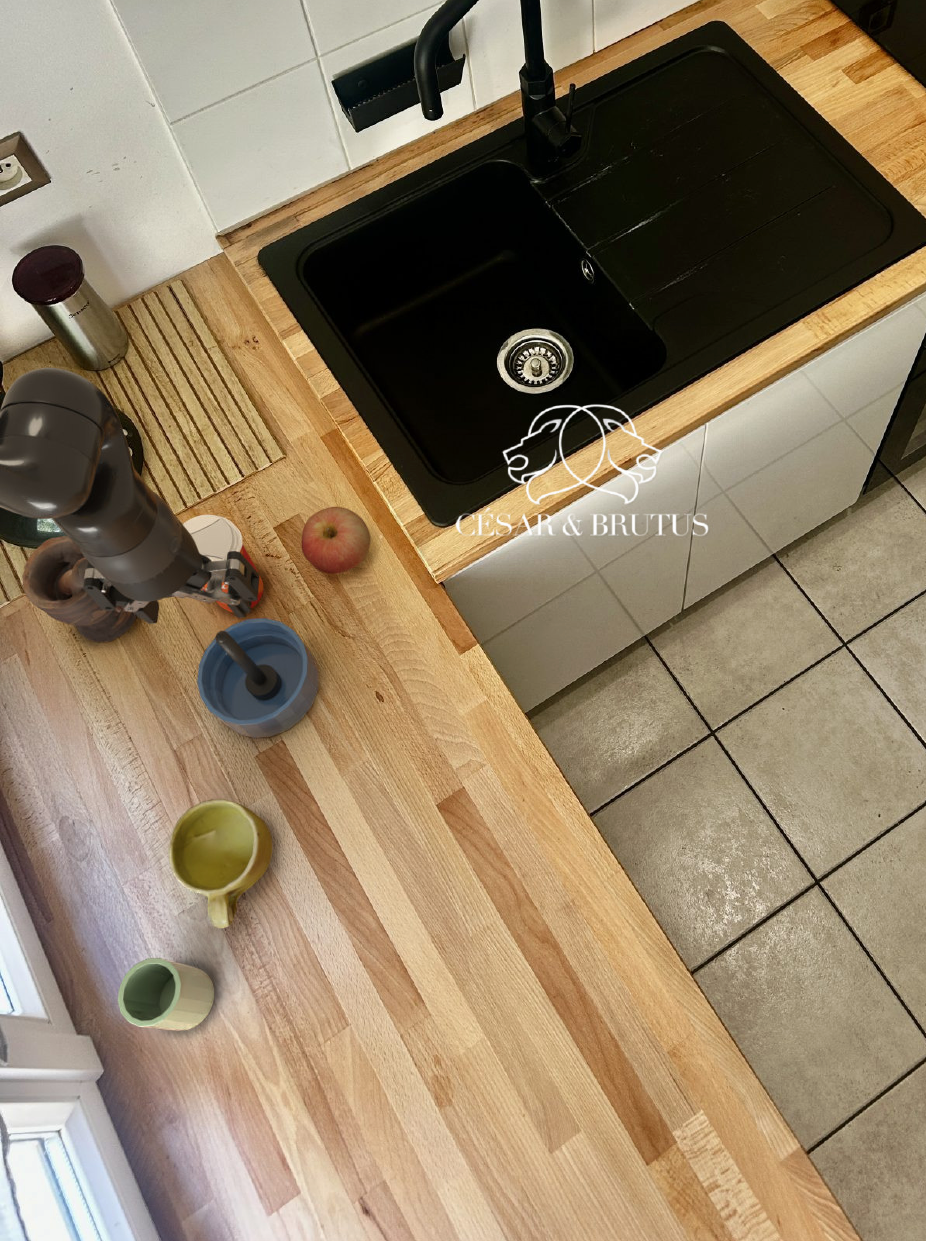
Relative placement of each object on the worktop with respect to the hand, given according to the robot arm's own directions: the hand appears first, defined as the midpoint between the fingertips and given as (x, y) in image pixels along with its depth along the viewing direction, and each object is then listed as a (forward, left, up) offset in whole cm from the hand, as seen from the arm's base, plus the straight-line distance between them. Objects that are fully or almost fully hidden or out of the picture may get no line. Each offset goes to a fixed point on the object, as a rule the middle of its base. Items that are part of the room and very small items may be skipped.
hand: (198, 611), depth 110 cm
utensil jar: (-6, -32, -24) cm, 40 cm away
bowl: (0, 0, -24) cm, 24 cm away
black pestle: (0, 0, -23) cm, 23 cm away
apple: (+8, +16, -24) cm, 30 cm away
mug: (-2, -20, -24) cm, 31 cm away
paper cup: (-4, +12, -24) cm, 27 cm away
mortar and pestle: (-18, +10, -24) cm, 32 cm away
